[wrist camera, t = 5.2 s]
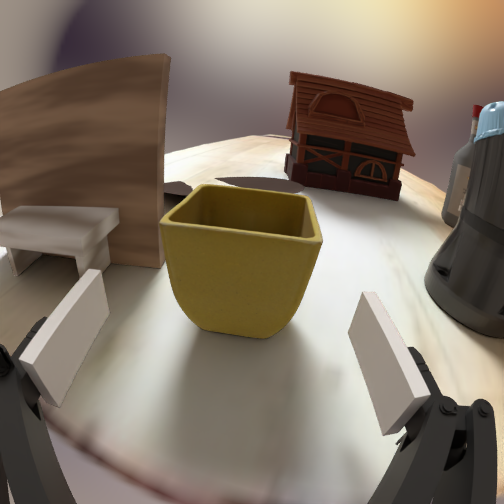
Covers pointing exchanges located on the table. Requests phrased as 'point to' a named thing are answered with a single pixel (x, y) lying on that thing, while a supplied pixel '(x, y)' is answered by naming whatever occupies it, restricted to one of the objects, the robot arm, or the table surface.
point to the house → (346, 136)
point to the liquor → (460, 175)
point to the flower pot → (240, 257)
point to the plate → (241, 185)
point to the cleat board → (85, 164)
